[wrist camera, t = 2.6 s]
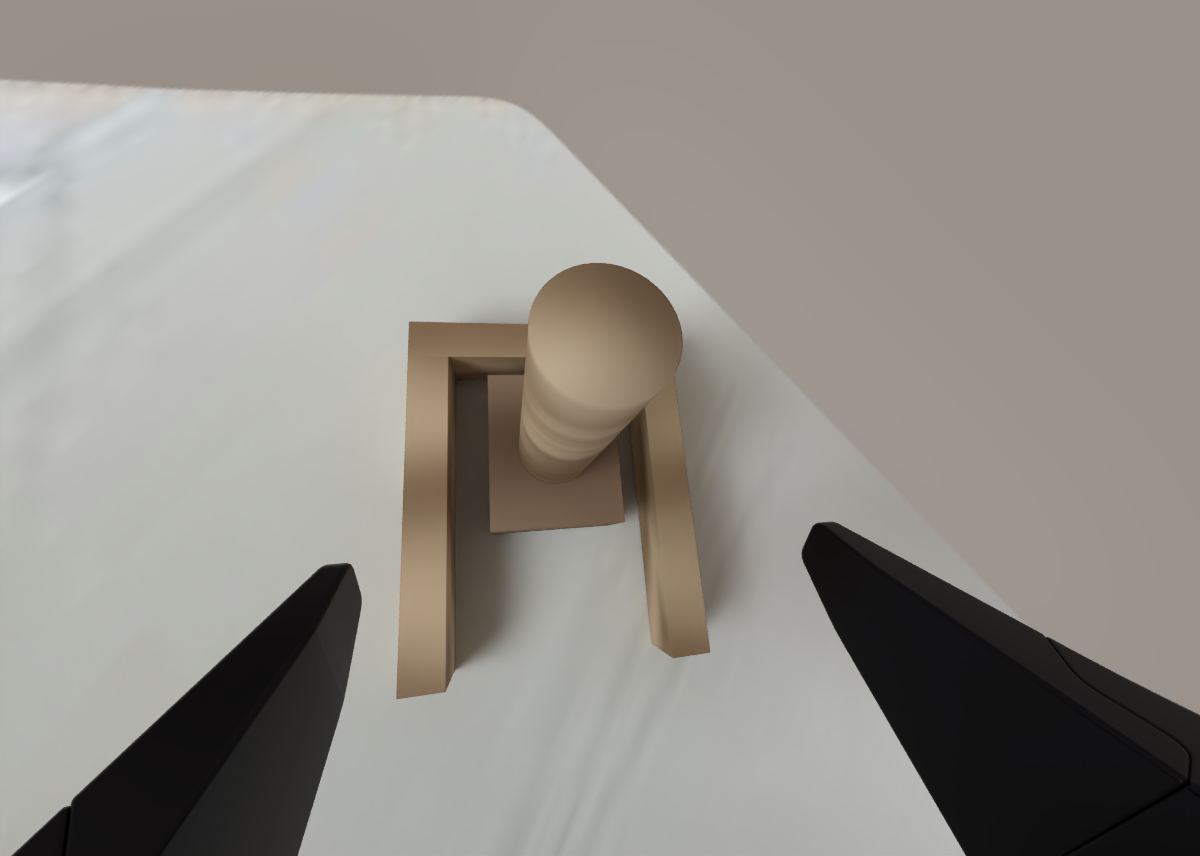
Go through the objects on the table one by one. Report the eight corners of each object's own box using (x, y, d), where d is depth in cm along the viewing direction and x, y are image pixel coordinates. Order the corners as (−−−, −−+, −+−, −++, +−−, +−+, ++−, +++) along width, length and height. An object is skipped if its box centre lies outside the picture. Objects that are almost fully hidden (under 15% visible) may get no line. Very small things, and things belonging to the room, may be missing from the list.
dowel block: (608, 525, 19) (764, 492, 7) (493, 534, 18) (460, 512, 6) (597, 398, 21) (713, 202, 9) (490, 399, 20) (460, 179, 8)
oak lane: (684, 638, 19) (710, 652, 16) (412, 676, 16) (396, 699, 14) (650, 351, 22) (667, 327, 20) (421, 348, 20) (409, 321, 17)
